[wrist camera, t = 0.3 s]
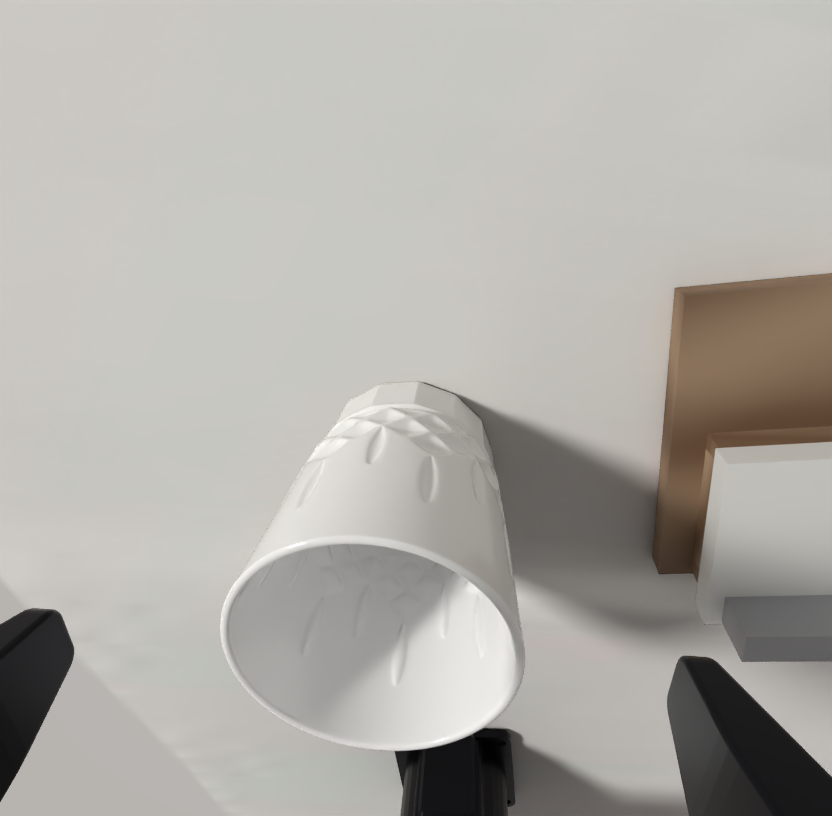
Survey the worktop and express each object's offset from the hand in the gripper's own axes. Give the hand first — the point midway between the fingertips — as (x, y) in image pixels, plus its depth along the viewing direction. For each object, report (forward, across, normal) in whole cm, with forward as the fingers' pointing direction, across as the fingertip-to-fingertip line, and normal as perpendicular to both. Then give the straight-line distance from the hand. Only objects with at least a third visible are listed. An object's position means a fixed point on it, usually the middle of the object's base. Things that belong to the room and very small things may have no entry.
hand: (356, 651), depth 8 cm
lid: (+12, -14, +6) cm, 19 cm away
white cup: (+14, +1, +5) cm, 15 cm away
